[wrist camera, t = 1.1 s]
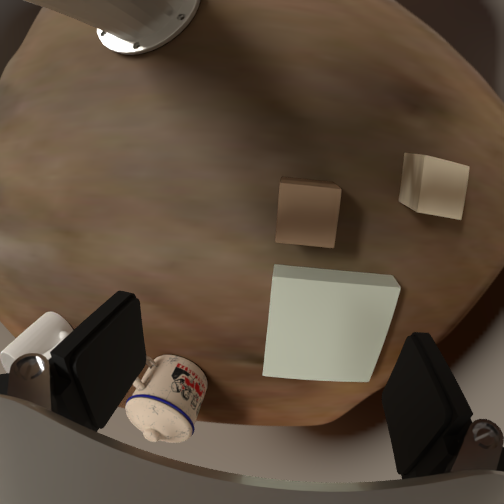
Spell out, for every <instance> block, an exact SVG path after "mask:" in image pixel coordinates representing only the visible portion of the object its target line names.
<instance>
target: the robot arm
mask: <svg viewBox="0 0 504 504" xmlns="http://www.w3.org/2000/svg"><path fill="white" fill-rule="evenodd" d="M24 1H27V2H30V3H33V4H36V5H39V6H42V7H45V8H48V9H51V10H53V11H56V12H59V13H61V14H64V15H67V16H69V17H72V18H74V19H77V20H79V21H81V22H84V23H86V24H88V25H91V26H93V27H95V28H97V34H98V36H99V39H100V41H101V42H102V43H103V45H104V46H106V47H107V48H108V49H110V50H112V51H114V52H117V53H120V54H125V55H135V54H142V53H146V52H149V51H152V50H154V49H156V48H159V47H161V46H163V45H164V44H166V43H167V42H169V41H171V40H172V39H173V38H175V37H176V36H177V35H178V34H179V33H181V32H182V30H183V29H184V28H185V27H186V26H187V25H188V24H189V23H190V21H191V20H192V18H193V17H194V15H195V13H196V11H197V9H198V7H199V3H200V0H24ZM183 18H184V19H183ZM182 19H183V20H182ZM50 354H51V358H50V359H49V360H48V359H47V358H46V357H45V356H43V355H42V354H38V353H28V354H24V355H22V356H20V357H18V358H17V359H16V360H15V361H14V362H13V363H12V365H11V368H10V373H6V374H0V504H504V447H503V442H504V437H503V433H502V431H501V429H500V428H499V427H498V426H497V425H496V424H495V423H493V422H492V421H490V420H487V419H478V420H475V421H474V422H472V421H471V416H472V415H473V413H472V411H471V409H470V406H469V404H468V402H467V400H466V398H465V397H464V394H463V393H462V391H461V389H460V387H459V385H458V383H457V381H456V379H455V377H454V375H453V374H452V372H451V370H450V368H449V366H448V365H447V363H446V361H445V359H444V357H443V356H442V354H441V352H440V351H439V349H438V347H437V345H436V344H435V342H434V340H433V339H432V337H431V335H430V334H429V333H420V332H414V333H413V334H412V335H411V336H408V337H407V339H406V341H405V343H404V346H403V348H402V350H401V353H400V355H399V358H398V360H397V362H396V365H395V367H394V369H393V371H392V373H391V376H390V378H389V380H388V382H387V384H386V386H385V388H384V390H383V393H382V404H383V408H384V412H385V416H386V420H387V424H388V429H389V434H390V438H391V443H392V448H393V453H394V458H395V463H396V468H397V472H398V474H401V476H402V479H400V480H390V481H376V482H358V483H318V482H299V481H285V480H275V479H267V478H259V477H252V476H245V475H239V474H234V473H228V472H223V471H218V470H213V469H208V468H204V467H199V466H195V465H192V464H188V463H184V462H180V461H177V460H173V459H169V458H166V457H163V456H159V455H156V454H153V453H150V452H147V451H144V450H141V449H138V448H136V447H132V446H130V445H127V444H124V443H122V442H120V441H117V440H115V439H112V438H110V437H107V436H105V435H102V434H100V433H97V430H98V429H99V428H100V429H102V428H103V427H104V426H105V425H106V424H107V422H108V420H109V419H110V417H111V416H112V414H113V413H114V411H115V410H116V408H117V407H118V405H119V404H120V402H121V401H122V399H123V398H124V396H125V395H126V393H127V392H128V390H129V389H130V387H131V386H132V384H133V383H134V381H135V380H136V378H137V377H138V375H139V374H140V372H141V371H142V369H143V368H144V366H145V364H146V351H145V343H144V336H143V328H142V319H141V309H140V301H139V299H138V298H136V296H135V294H133V293H129V292H124V291H118V292H116V293H115V294H114V295H113V296H112V297H111V298H109V299H108V300H107V301H106V302H105V303H104V304H103V305H101V306H100V307H99V308H98V309H97V310H96V311H95V312H93V313H92V314H91V315H90V316H89V317H88V318H87V319H85V320H84V321H83V322H82V323H81V324H80V325H79V326H78V327H77V328H75V329H74V330H73V331H72V332H71V333H70V334H69V335H68V336H67V337H66V338H64V339H63V340H62V341H61V342H60V343H59V344H58V345H57V346H56V347H55V348H54V349H53V350H52V351H51V352H50Z"/></svg>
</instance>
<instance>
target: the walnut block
mask: <svg viewBox="0 0 504 504" xmlns="http://www.w3.org/2000/svg"><path fill="white" fill-rule="evenodd" d="M341 191H342V189H341V188H339V187H338V186H337V185H336V184H335V183H334V182H328V181H319V180H310V179H300V178H289V177H281V180H280V186H279V199H278V212H277V225H276V237H275V243H286V244H296V245H306V246H317V247H327V248H334V244H335V237H336V230H337V223H338V216H339V208H340V200H341Z"/></svg>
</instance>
